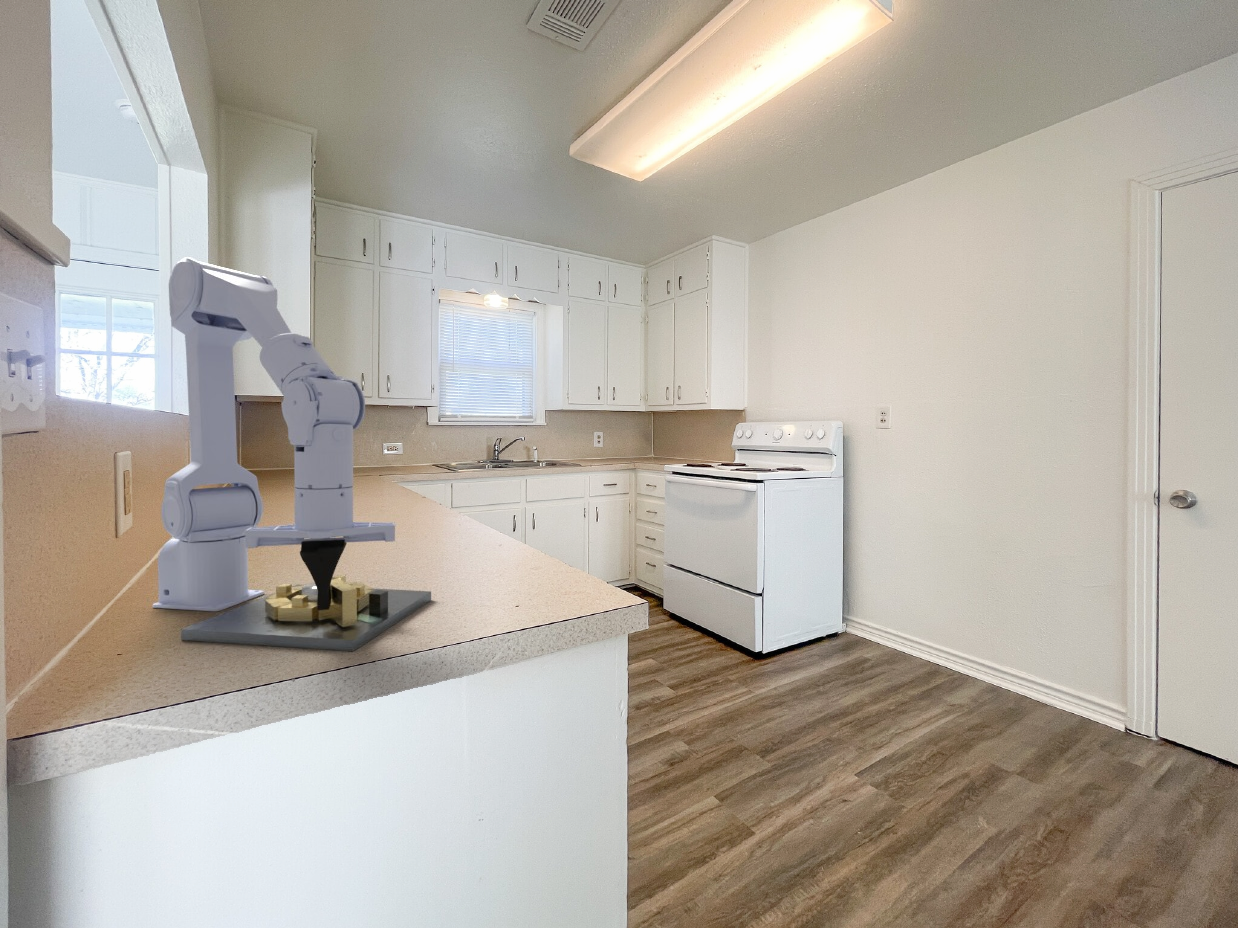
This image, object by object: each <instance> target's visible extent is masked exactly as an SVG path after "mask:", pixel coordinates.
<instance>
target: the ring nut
mask: <svg viewBox="0 0 1238 928" xmlns="http://www.w3.org/2000/svg"><path fill="white" fill-rule="evenodd" d="M301 585H302V586H296V587H292V586H293V584H292V583H281V584H279V585H276V586H275V594H274V593H272V594H273V595H271V594H270V595H271V596H269V595H268V596H269V597H267V598H266V599H265V612H266V613H267V614H268V615H269V616H270V617H271V618H272V619H273V620H276V619H278V621H313V620H315V619H316V618H317V619H318V620H324V619H328V618H331V619H332V620H333V621H335V622H336V623H338V624H339V625H340V626H342V627H345V626H349V625H354V624H357V611H360V610H361V609H363V608H364V607H365V606H367V605H368V604H369V593H371V592H373V588H372V587H370V586H369V585H366V584H365V583H363V582H357V581H347V576H346V574H342V575H341V574H339V575H338V574H336V575H333V577H332V580H331V584H330V586H331V605H330V608H329V610H317V603H308V595H302V587H303V586H305V585H306V584H301Z"/></svg>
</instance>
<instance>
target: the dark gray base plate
mask: <svg viewBox="0 0 1238 928" xmlns="http://www.w3.org/2000/svg"><path fill="white" fill-rule="evenodd" d="M302 585H303V584H295V585H292V587H296V586H302ZM304 585H305V586H303V587H302V595H308V603H317V597H318V590H317V587H316V584H315V582H312V583H307V584H304ZM275 593H276V592H275ZM275 593H271V594H269V595H267V596H264V597H261V598H259V599H257V600H253V601H251V602H248V603H246V604H243V605H241V606H238V607H235V608H233V609H230V610H228V611H225V612H222V613H220V614H217V615H214V616H212V617H209V618H207V619H205V620H201V621H199V622H197V623H194V624H191V625H189V626H187V627H183V628H181V629H180V630H181V631H180V635H181V637H180V638H181V639H180V640H181V641H187V642H189V641H191V642H192V641H193V642H203V643H204V642H207V643H222V644H234V645H235V644H237V645H251V646H253V645H254V646H266V647H267V646H268V647H280V648H281V647H282V648H296V649H297V648H298V649H311V650H326V651H341V652H342V651H343V652H344V651H345V652H355V651H356V650H358V649H359V648H360V647H362V646H364V645H365V644H367V643H368V642H370V641H372V640H373V639H374V638H376V637H377V636H379V635H381V634H382V633H384V632H385V631H387V630H388V629H390V628H391V627H393V626H394V625H396V624H397V623H398V622H400V621H401V620H403V619H404V618H406V617H408V616H409V615H411V614H412V613H414V612H415V611H417V610H418V609H420V608H421V607H423V606H424V605H426V604H428V603H429V602H430V601H432V591H429V590H428V591H427V590H411V589H409V590H408V589H390V588H373V592H371V593H369V604H368V605H367V606H365V607H364V608H363V609H361V610H360V611H357V624H354V625H349V626H345V627H342V626H340V625H339V624H338V623H336V622H335V621H333V620H332V619H331V618H328V619H324V620H318V619H317V618H316V619H315V620H313V621H278V619H276V620H273V619H272V618H271V617H270V616H269V615H268V614H267V613H266V612H265V599H266V598H267V597H269V596H271V595H273V594H275Z"/></svg>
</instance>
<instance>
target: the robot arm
mask: <svg viewBox="0 0 1238 928" xmlns="http://www.w3.org/2000/svg"><path fill="white" fill-rule="evenodd" d="M168 298H169V301H168V303H169V316H170V319H171V320H170V321H171V327H172V328H174V329H176V330H177V331H178V332H180V333H182V334H183V335H184V342H185V354H186V377H187V382H186V383H187V398H188V399H187V400H188V401H187V403H188V425H189V427H188V428H189V443H190V444H189V447H190V448H189V449H190V463H188V464H187V465H186V466H185V467H184V466H183V468H180V470H178V471H176V472H175V473H173V475H171V476H170V477H168V478H167V479H166V480H165V482H164V483H165V484H164V489H163V490H164V491H163V499H162V502H161V506H160V507H161V508H160V510H161V511H160V515H161V521H162V525H163V528H164V530H165V531H166V532H167V534H169V535H170V536H171V537H172V538H171V539H169V540H168V541H167V542H165V544H163V546H162V547H161V550H160V551H159V554H158V557H157V577H158V580H157V581H158V582H157V583H158V602H155V603H153V604H152V608H156V609H168V610H189V611H203V612H220V611H223V610H226V609H228V608H230V607H233V606H236V605H239V604H241V603H244V602H247V601H249V600H252V599H254V598H257V597H260V596H262V595H263V596H264V594H265V590H260V589H259V590H258V589H249V556H248V555H249V554H248V553H249V551H248V549H257V548H259V547H275V546H276V547H279V546H295V545H296V546H297V545H299V546H301V547H300V550H299V556H300V557H301V560H302V561H303V563H304V564H305V566H306V568H307V569H308V571H309V573H310V576H311V577H312V580H313V581H314V582H313V583H315V584H316V587H317V590H318V597H317V610H329V608H330V605H331V586H330V584H331V580H332V577H334V574H335V570H336V568H337V566H338V563H339V562H340V559H341V558H342V557H341V556H342V555H343V553H344V551H345V549H346V546H347V543H361V542H363V543H364V542H383V541H384V542H386V543H387V542H395V541H396V523H395V522H367V521H365V522H362V521H360V522H359V521H354V431H355V430H356V429H357V428H359V426H360V425H361V423H362V422H363V420H364V417H365V413H366V401H365V395H364V392H363V391H362V389H361V388H360V385H359V383H358V382H357V381H355V380H353V379H345V378H343V376H338V375H337V374H335V372H334V371H333V370H332V368H331V367H330V366H329V364H328V363H327V362H326V360H325V359H324V358H323V357H322V355H321V354H320V353H319V351H318V350H317V349H316V348H315V346H314V342H313V341H312V340H311V339H310V337H309V336H305V335H301V334H299V333H292V331H291V329H290V328H289V326H288V324H287V322H286V320H284V317H283V316H282V314H281V313H280V311H279V309H278V290H277V288H276V287H275V286H274V284H273V283H272V281H271V280H270V279H269V278H268V277H267V276H263V275H253V274H250V273H246V272H242V271H240V270H239V271H238V270H234V269H231V268H226V267H222V266H220V265H218V266H217V265H214V264H210V263H206V262H203V261H197V260H196V259H194V258H192V257H184V258H181V259H180V261H178V262H176V263H175V265H174V267H173V269H172V272H171V275H170V277H169V280H168ZM251 338H253V339H254V340H255V341H256V342H257V343H258V345H259V347H261V350H260V353H259V361H260V364H261V365H262V367H263V368H264V369H265V371H266V372H267V374H268V376H269V377H270V378H271V380H272V381H273V383H274V384H275V385H276V387H277V388H278V390H279V391H280V393H281V394H282V396H283V398H282V401H281V412H282V416H283V419H284V421H285V423H286V426H287V431H288V432H287V434H288V437H287V439H288V440H289V444H290V445H292V446H293V447H294V450H293V451H294V458H293V459H294V464H293V465H294V469H293V470H294V524H283V525H273V526H272V525H271V526H258V525H259V524H260V522H261V520H262V518H263V516H264V501H263V497H262V495H261V493H260V489H259V481H258V477H257V476H256V475H255V474H254V473H253V472H250V471H249V470H248V469H246V468H245V467H244V466H242V465H240V464H239V463H238V446H237V445H238V444H237V443H238V442H237V424H236V423H237V422H236V421H237V420H236V399H235V396H236V395H235V378H234V377H235V376H234V372H235V371H234V355H233V353H234V349H233V348H234V347H235V345H236V344H237V343H238V342H243V341H245V340H249V339H251ZM223 484H225V485H227V484H230V485H231V486H218V487H206V488H205V487H202V488H196V487H199V486H207V485H209V486H210V485H211V486H212V485H223Z"/></svg>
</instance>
